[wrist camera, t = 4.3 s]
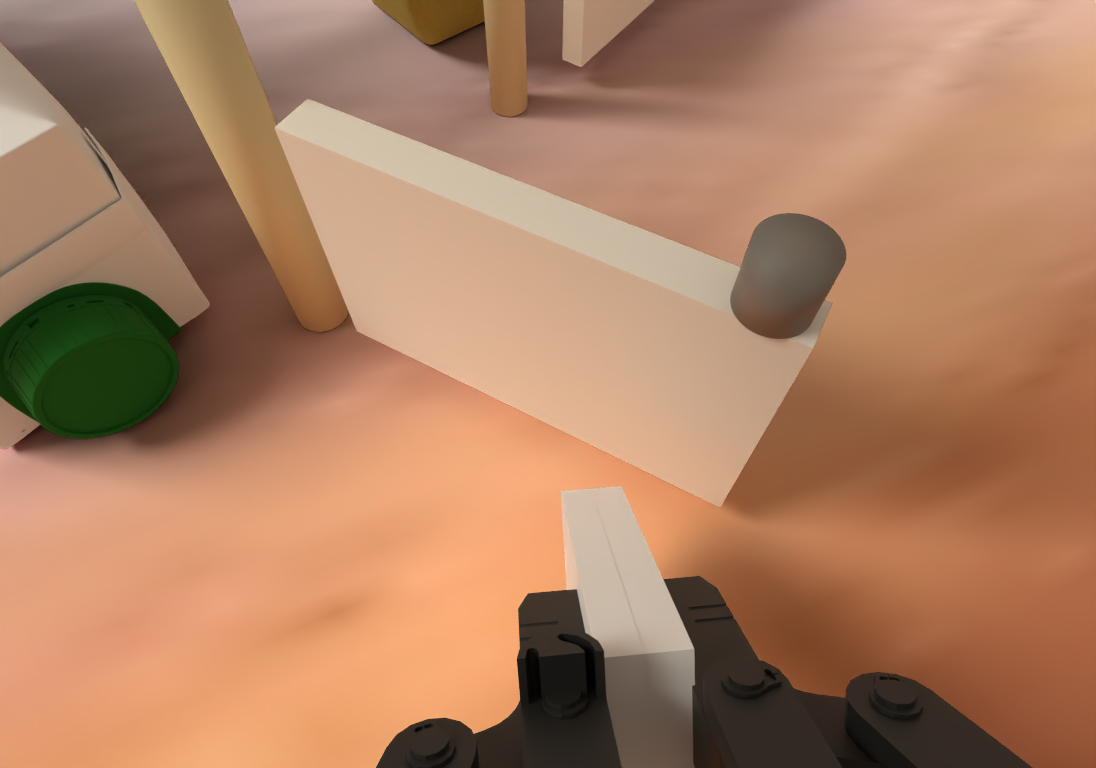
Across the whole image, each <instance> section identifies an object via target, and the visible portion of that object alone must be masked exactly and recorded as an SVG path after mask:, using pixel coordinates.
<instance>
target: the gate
mask: <svg viewBox="0 0 1096 768" xmlns="http://www.w3.org/2000/svg"><path fill="white" fill-rule="evenodd" d="M274 128H275V131H276V133H277V136H278V138H279V140H280V143H281V145H282V148H283V150H284V153H285V155H286V158H287V160H288V163H289V165H290V168H291V170H292V173H293V175H294V178H295V180H296V183H297V185H298V187H299V190H300V192H301V195H302V197H303V200H304V202H305V205H306V207H307V210H308V212H309V215H310V217H311V220H312V222H313V225H314V227H315V230H316V232H317V234H318V237H319V239H320V242H321V244H322V247H323V249H324V252H325V254H326V257H327V259H328V262H329V264H330V267H331V269H332V272H333V274H334V277H335V279H336V282H337V284H338V286H339V289H340V291H341V294H342V296H343V299H344V301H345V304H346V306H347V309H348V311H349V314H350V316H351V319H352V321H353V324H354V326H355V329H356V331H357V332H360V333H362V334H364V335H366V336H368V337H370V338H372V339H374V340H376V341H378V342H380V343H382V344H384V345H386V346H388V347H390V348H392V349H394V350H397V351H399V352H401V353H403V354H405V355H407V356H409V357H411V358H413V359H415V360H417V361H419V362H421V363H423V364H425V365H427V366H429V367H431V368H434V369H436V370H438V371H440V372H442V373H444V374H446V375H448V376H450V377H452V378H454V379H456V380H458V381H460V382H462V383H464V384H466V385H468V386H471V387H473V388H475V389H477V390H479V391H481V392H483V393H485V394H487V395H489V396H491V397H493V398H495V399H497V400H499V401H501V402H503V403H505V404H508V405H510V406H512V407H514V408H516V409H518V410H520V411H522V412H524V413H526V414H528V415H530V416H532V417H534V418H536V419H538V420H540V421H542V422H545V423H547V424H549V425H551V426H553V427H555V428H557V429H559V430H561V431H563V432H565V433H567V434H569V435H571V436H573V437H575V438H577V439H579V440H582V441H584V442H586V443H588V444H590V445H592V446H594V447H596V448H598V449H600V450H602V451H604V452H606V453H608V454H610V455H612V456H614V457H616V458H618V459H621V460H623V461H625V462H627V463H629V464H631V465H633V466H635V467H637V468H639V469H641V470H643V471H645V472H647V473H649V474H651V475H653V476H655V477H658V478H660V479H662V480H664V481H666V482H668V483H670V484H672V485H674V486H676V487H678V488H680V489H682V490H684V491H686V492H688V493H690V494H692V495H695V496H697V497H699V498H701V499H703V500H705V501H707V502H709V503H711V504H713V505H715V506H717V507H719V508H720V507H721V505H722V503H723V502H724V500H725V498H726V497H727V495H728V493H729V491H730V490H731V488H732V486H733V485H734V483H735V481H736V480H737V478H738V476H739V474H740V473H741V471H742V469H743V468H744V466H745V464H746V462H747V461H748V459H749V457H750V456H751V454H752V452H753V451H754V449H755V447H756V445H757V444H758V442H759V440H760V439H761V437H762V435H763V433H764V432H765V430H766V428H767V427H768V425H769V423H770V422H771V420H772V418H773V416H774V415H775V413H776V411H777V410H778V408H779V406H780V404H781V403H782V401H783V399H784V398H785V396H786V394H787V393H788V391H789V389H790V387H791V386H792V384H793V382H794V381H795V379H796V377H797V375H798V374H799V372H800V370H801V369H802V367H803V365H804V364H805V362H806V360H807V358H808V357H809V355H810V353H811V352H812V350H813V348H814V346H815V343H816V341H817V339H818V336H819V334H820V332H821V329H822V327H823V324H824V322H825V320H826V317H827V315H828V313H829V310H830V308H831V305H832V303H831V302H829V301H826V300H825V298H826V296H827V295H828V293H829V291H830V289H831V287H832V285H833V284H834V282H835V280H836V278H837V276H838V275H839V273H840V271H841V269H842V267H843V266H844V263H845V260H846V250H845V246H844V243H843V241H842V240H841V238H840V237H839V235H838V234H837V233H836V232H835V231H834V230H833V229H832V228H831V227H829V226H828V225H827V224H825V223H823V222H822V221H820V220H818V219H815V218H813V217H810V216H806V215H802V214H792V213H787V214H779V215H775V216H771V217H769V218H767V219H765V220H763V221H762V222H761V223H760V224H759V225H758V226H757V227H756V228H755V230H754V232H753V234H752V237H751V240H750V243H749V245H748V248H747V251H746V254H745V256H744V259H743V262H742V265H741V267H739V266H736V265H734V264H731V263H728V262H726V261H723V260H721V259H718V258H716V257H713V256H710V255H708V254H705V253H703V252H700V251H698V250H695V249H692V248H690V247H687V246H685V245H682V244H680V243H677V242H675V241H672V240H669V239H667V238H664V237H662V236H659V235H657V234H654V233H651V232H649V231H646V230H644V229H641V228H639V227H636V226H633V225H631V224H628V223H626V222H623V221H621V220H618V219H615V218H613V217H610V216H608V215H605V214H603V213H600V212H598V211H595V210H592V209H590V208H587V207H585V206H582V205H580V204H577V203H574V202H572V201H569V200H567V199H564V198H562V197H559V196H556V195H554V194H551V193H549V192H546V191H544V190H541V189H538V188H536V187H533V186H531V185H528V184H526V183H523V182H520V181H518V180H515V179H513V178H510V177H508V176H505V175H503V174H500V173H497V172H495V171H492V170H490V169H487V168H485V167H482V166H479V165H477V164H474V163H472V162H469V161H467V160H464V159H461V158H459V157H456V156H454V155H451V154H449V153H446V152H443V151H441V150H438V149H436V148H433V147H431V146H428V145H426V144H423V143H420V142H418V141H415V140H413V139H410V138H408V137H405V136H402V135H400V134H397V133H395V132H392V131H390V130H387V129H384V128H382V127H379V126H377V125H374V124H372V123H369V122H366V121H364V120H361V119H359V118H356V117H354V116H351V115H349V114H346V113H343V112H341V111H338V110H336V109H333V108H331V107H328V106H325V105H323V104H320V103H318V102H315V101H313V100H310V99H307V100H305V101H304V102H303V103H302V104H301V105H300V106H298V107H297V108H296V109H295V110H294V111H293V112H292V113H290V114H289V115H288V116H287V117H286V118H285V119H283V120H282V121H281V122H280V123H279V124H278V125H276V126H275V127H274Z"/></svg>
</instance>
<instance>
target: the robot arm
mask: <svg viewBox="0 0 1096 768" xmlns="http://www.w3.org/2000/svg"><path fill="white" fill-rule="evenodd" d="M561 506H562V522H563V538H564V554H565V570H566V586H567V590H562V591H551V592H540V593H529V594H527V596H526V597H525V599H524V601H523V602H522V604H521V605H520V607H519V608H518V613H519V637H520V650H519V654H518V657H517V665H518V677H519V689H520V702H519V704H518V706H517V708H516V709H515V710H514V711H513V712H512V714H511V715H510V716H509V717H508V718H506V719H505V720H503V721H502V722H501V723H499V724H497V725H495V726H493V727H491V728H489V729H486V730H484V731H481V732H478V733H475V734H473V732H472V730H471V729H470V728H469V727H467V726H466V725H464V724H463V723H462V722H460V721H456V720H452V719H448V718H437V719H427V720H424V721H421V722H418V723H415V724H412V725H410V726H409V727H407V728H406V729H404V730H403V731H401V732H400V733H399V734H397V735H396V736H395V738H394V739H393V740H392V741H391V743H390V744H389V745H388V746H387V748H386V750H385V752H384V754H383V755H382V757H381V759H380V761H379V763H378V765H377V767H376V768H1032V767H1031V766H1030V765H1028V764H1027V763H1026V762H1024V761H1023V760H1022V759H1020V758H1019V757H1018V756H1016V755H1015V754H1014V753H1013V752H1011V751H1010V750H1009V749H1007V748H1006V747H1005V746H1003V745H1002V744H1001V743H999V742H998V741H997V740H996V739H994V738H993V737H992V736H990V735H989V734H988V733H986V732H985V731H984V730H982V729H981V728H980V727H979V726H977V725H976V724H975V723H973V722H972V721H971V720H969V719H968V718H967V717H965V716H964V715H963V714H961V713H960V712H959V711H958V710H956V709H955V708H954V707H952V706H951V705H950V704H948V703H947V702H946V701H944V700H943V699H942V698H941V697H939V696H938V695H937V694H935V693H934V692H933V691H931V690H930V689H928V688H926V687H925V686H923V685H921V684H920V683H918V682H916V681H914V680H911V679H908V678H905V677H902V676H900V675H897V674H889V673H880V672H876V673H868V674H862V675H860V676H858V677H856V678H854V679H852V680H851V681H850V683H849V685H848V687H847V689H846V698H841V697H834V696H826V695H818V694H812V693H807V692H803V691H799V690H797V689H794V688H793V687H792V685H791V684H790V682H789V680H788V679H787V678H786V677H785V676H784V675H783V674H782V673H781V671H780V670H779V669H777V668H775V667H773V666H772V665H770V664H768V663H766V662H764V661H760V660H759V659H758V658H757V656H756V654H755V653H754V651H753V649H752V647H751V646H750V644H749V642H748V641H747V639H746V637H745V635H744V634H743V632H742V630H741V629H740V627H739V625H738V623H737V622H736V620H735V619H734V618H733V615H732V613H731V611H730V610H729V608H728V607H726V603H725V601H724V599H723V598H722V596H721V594H720V593H719V591H718V589H717V588H716V587H714V586H713V585H711V584H710V583H709V582H707V581H706V580H704V579H703V578H701V577H700V576H696V577H685V578H674V579H663V578H662V575H661V573H660V571H659V569H658V567H657V564H656V562H655V560H654V558H653V555H652V553H651V551H650V549H649V546H648V544H647V542H646V540H645V538H644V535H643V533H642V531H641V529H640V526H639V524H638V522H637V520H636V517H635V515H634V513H633V511H632V508H631V506H630V504H629V502H628V500H627V497H626V495H625V493H624V491H623V488H622V486H615V487H603V488H591V489H579V490H567V491H561Z"/></svg>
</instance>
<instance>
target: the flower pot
mask: <svg viewBox="0 0 1096 768" xmlns="http://www.w3.org/2000/svg"><path fill="white" fill-rule="evenodd" d="M372 1H373V2H374V4H375V5H377V6H378V7H379V8H380V9H382V10H383V11H384V12H385V13H387V14H388V15H389V16H391V17H392V18H393V19H395V20H396V21H397V22H398V23H400V24H401V25H402V26H403V27H405V28H406V29H407V30H408V31H410V32H411V33H412V34H413V35H414V36H416V37H417V38H418V39H419V40H421V41H422V42H424V43H426V44H431V45H432V44H436V43H439V42H441V41H443V40H446V39H448V38H450V37H452V36H454V35H456V34H458V33H461V32H463V31H465V30H467V29H469V28H471V27H473V26H475V25H478V24H480V23H482V22H484V21H485V18H484V5H483V0H372Z"/></svg>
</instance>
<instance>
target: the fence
mask: <svg viewBox="0 0 1096 768" xmlns="http://www.w3.org/2000/svg"><path fill="white" fill-rule="evenodd" d="M654 1H655V0H564V2H563V51H562V60H564V61H567V62H569V63H572V64H574V65H576V66H579V67H582V66H583V65H584V64H585V63H587V62H588V61H589V60H590V59H591V58H592V57H593V56H594V55H595V54H596V53H598V52H599V51H600V50H601V49H602V48H603V47H604V46H605V45H606V44H607V43H609V42H610V41H611V40H612V39H613V38H614V37H615V36H616V35H617V34H618V33H619V32H621V31H622V30H623V29H624V28H625V27H626V26H627V25H628V24H629V23H630V22H632V21H633V20H634V19H635V18H636V17H637V16H638V15H639V14H640V13H641V12H643V11H644V10H645V9H646V8H647V7H648V6H649V5H650V4H651V3H652V2H654ZM134 2H135V4H136V5H137V7H138V9H139V11H140V13H141V15H142V17H143V19H144V21H145V23H146V25H147V27H148V29H149V31H150V33H151V35H152V37H153V38H154V40H155V42H156V44H157V46H158V48H159V50H160V52H161V54H162V56H163V58H164V60H165V62H166V64H167V66H168V68H169V70H170V71H171V73H172V75H173V77H174V79H175V81H176V83H177V85H178V87H179V89H180V91H181V93H182V95H183V97H184V99H185V101H186V103H187V104H188V106H189V108H190V110H191V112H192V114H193V116H194V118H195V120H196V122H197V124H198V126H199V128H200V130H201V132H202V134H203V136H204V137H205V139H206V141H207V143H208V145H209V147H210V149H211V151H212V153H213V155H214V157H215V159H216V161H217V163H218V165H219V167H220V169H221V170H222V172H223V174H224V176H225V178H226V180H227V182H228V184H229V186H230V188H231V190H232V192H233V194H234V196H235V198H236V200H237V202H238V203H239V205H240V207H241V209H242V211H243V213H244V215H245V217H246V219H247V221H248V223H249V225H250V227H251V229H252V231H253V233H254V235H255V236H256V238H257V240H258V242H259V244H260V246H261V248H262V250H263V252H264V254H265V256H266V258H267V260H268V262H269V264H270V266H271V268H272V269H273V271H274V273H275V275H276V277H277V279H278V281H279V283H280V285H281V287H282V289H283V291H284V293H285V295H286V297H287V299H288V301H289V302H290V304H291V306H292V308H293V310H294V312H295V314H296V316H297V318H298V320H299V322H300V323H301V325H302V326H303V327H304V328H306V329H308V330H310V331H315V332H324V331H329V330H332V329H334V328H336V327H337V326H339V325H340V324H341V323H343V321H344V320H345V319H346V317H347V316H348V313H349V311H348V309H347V306H346V304H345V301H344V299H343V296H342V294H341V291H340V289H339V286H338V284H337V282H336V279H335V277H334V274H333V272H332V269H331V267H330V264H329V262H328V259H327V257H326V254H325V252H324V249H323V247H322V244H321V242H320V239H319V237H318V234H317V232H316V230H315V227H314V225H313V222H312V220H311V217H310V215H309V212H308V210H307V207H306V205H305V202H304V200H303V197H302V195H301V192H300V190H299V187H298V185H297V183H296V180H295V178H294V175H293V173H292V170H291V168H290V165H289V163H288V160H287V158H286V155H285V153H284V150H283V148H282V145H281V143H280V140H279V138H278V136H277V133H276V131H275V128H274V127H275V126H276V125H277V123H276V120H275V118H274V115H273V113H272V110H271V108H270V105H269V103H268V100H267V98H266V95H265V93H264V90H263V88H262V85H261V82H260V80H259V77H258V75H257V72H256V70H255V67H254V65H253V62H252V60H251V57H250V55H249V52H248V50H247V47H246V45H245V42H244V40H243V37H242V35H241V32H240V30H239V27H238V25H237V22H236V20H235V17H234V15H233V12H232V10H231V7H230V5H229V2H228V0H134ZM483 5H484V18H485V30H486V43H487V55H488V68H489V80H490V93H491V105H492V109H493V111H494V112H496V113H497V114H499V115H502V116H507V117H511V116H517V115H519V114H521V113H523V112H524V111H525V110H526V109H527V106H528V100H527V64H526V28H525V0H483Z"/></svg>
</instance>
